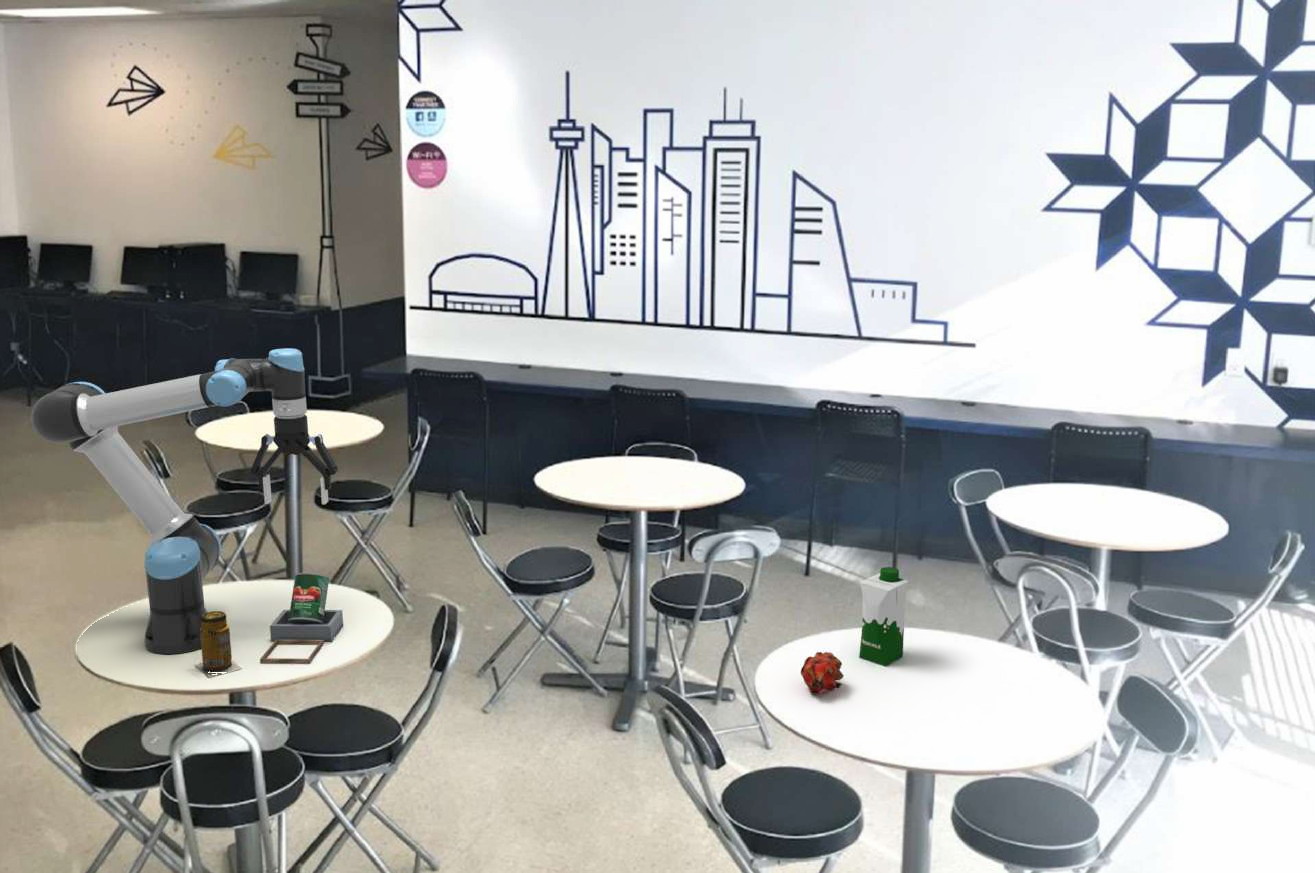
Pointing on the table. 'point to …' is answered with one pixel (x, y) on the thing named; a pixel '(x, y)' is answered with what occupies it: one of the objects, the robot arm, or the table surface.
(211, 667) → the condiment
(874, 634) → the milk carton
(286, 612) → the bin
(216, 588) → the table surface
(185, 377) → the robot arm
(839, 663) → the dragon fruit
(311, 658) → the wooden picture frame
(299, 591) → the canned tomato
